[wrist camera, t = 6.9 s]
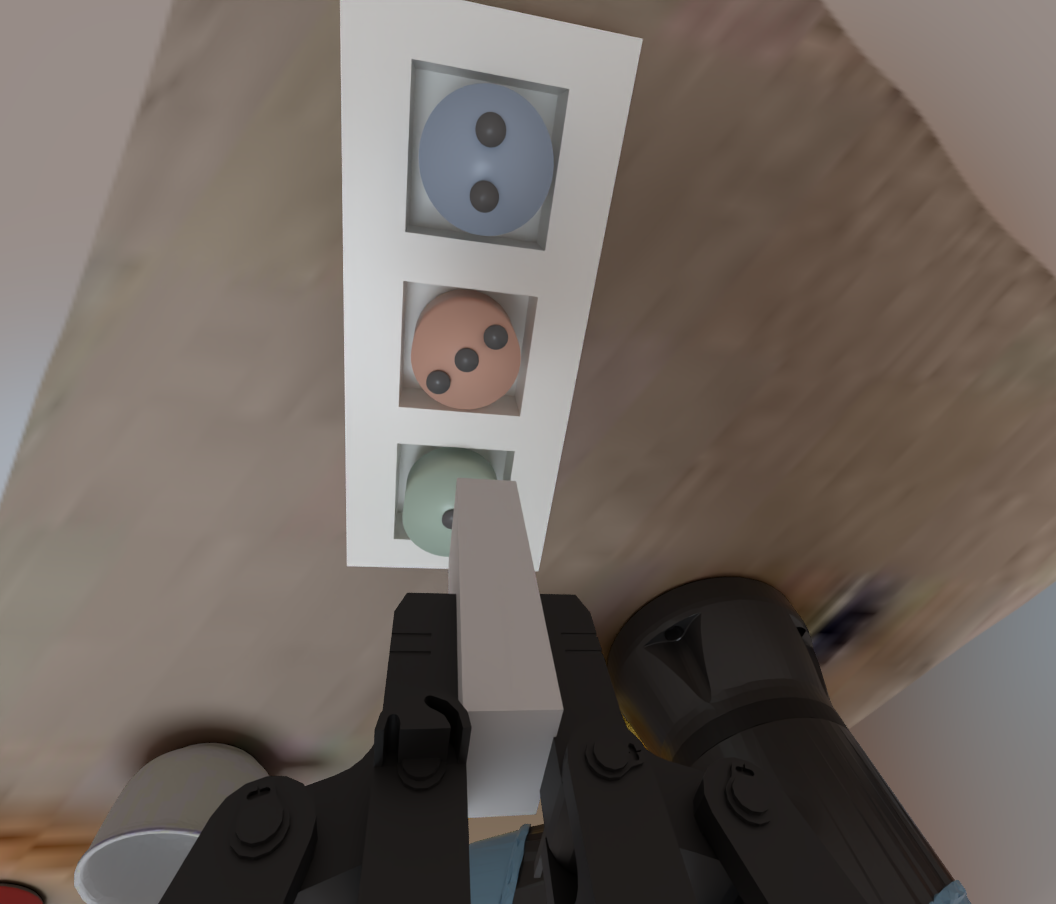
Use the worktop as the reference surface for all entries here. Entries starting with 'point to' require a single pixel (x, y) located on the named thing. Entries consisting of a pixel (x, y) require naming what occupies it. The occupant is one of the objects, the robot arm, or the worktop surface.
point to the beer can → (18, 895)
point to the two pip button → (486, 159)
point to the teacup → (160, 822)
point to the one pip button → (438, 495)
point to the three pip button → (465, 350)
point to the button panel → (465, 247)
